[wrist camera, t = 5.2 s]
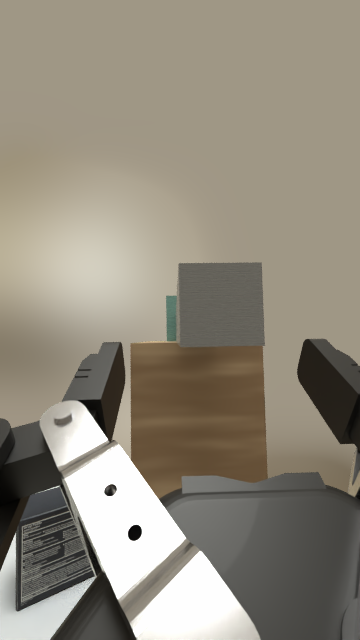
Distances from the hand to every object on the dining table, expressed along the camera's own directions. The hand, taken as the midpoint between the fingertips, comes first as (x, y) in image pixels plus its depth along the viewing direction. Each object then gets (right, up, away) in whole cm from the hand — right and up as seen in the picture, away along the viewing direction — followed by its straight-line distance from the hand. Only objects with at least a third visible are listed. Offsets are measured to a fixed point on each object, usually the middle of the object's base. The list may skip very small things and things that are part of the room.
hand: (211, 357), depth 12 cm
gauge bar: (0, 0, +10) cm, 11 cm away
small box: (-18, -34, +26) cm, 46 cm away
